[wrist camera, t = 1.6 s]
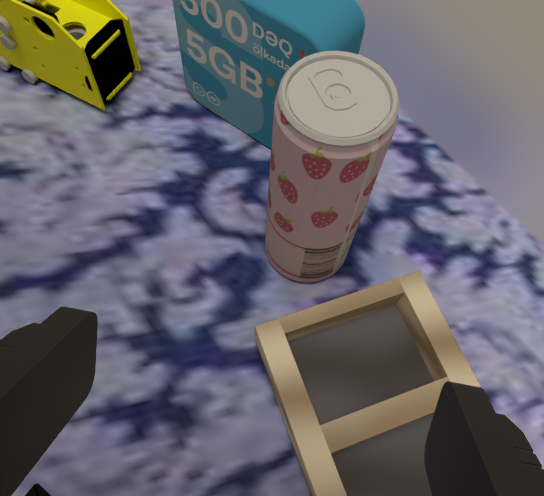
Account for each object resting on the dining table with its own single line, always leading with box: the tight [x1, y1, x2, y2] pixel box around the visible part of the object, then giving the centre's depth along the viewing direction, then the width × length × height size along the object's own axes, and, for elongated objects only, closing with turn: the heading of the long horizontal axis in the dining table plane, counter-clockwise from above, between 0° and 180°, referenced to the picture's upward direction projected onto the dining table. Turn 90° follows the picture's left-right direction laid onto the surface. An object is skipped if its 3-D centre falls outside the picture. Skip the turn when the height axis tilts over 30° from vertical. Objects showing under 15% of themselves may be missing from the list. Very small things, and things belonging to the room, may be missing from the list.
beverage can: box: [265, 51, 399, 283], centre depth 29 cm, size 6×6×15 cm
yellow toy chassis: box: [0, 0, 141, 110], centre depth 39 cm, size 16×6×8 cm, turn 61°
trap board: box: [255, 271, 480, 496], centre depth 28 cm, size 22×11×3 cm, turn 20°
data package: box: [173, 0, 365, 149], centre depth 35 cm, size 12×4×12 cm, turn 53°
